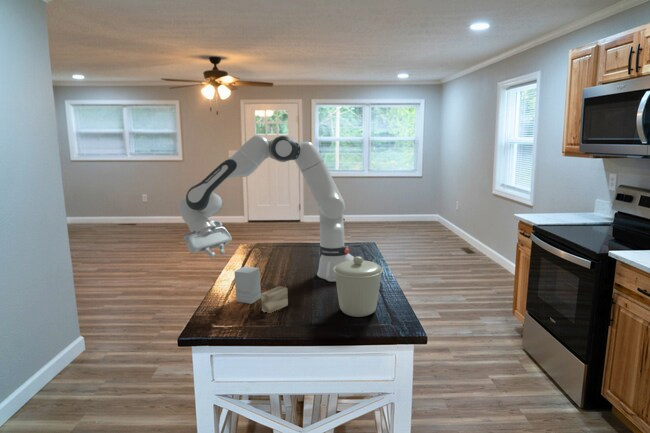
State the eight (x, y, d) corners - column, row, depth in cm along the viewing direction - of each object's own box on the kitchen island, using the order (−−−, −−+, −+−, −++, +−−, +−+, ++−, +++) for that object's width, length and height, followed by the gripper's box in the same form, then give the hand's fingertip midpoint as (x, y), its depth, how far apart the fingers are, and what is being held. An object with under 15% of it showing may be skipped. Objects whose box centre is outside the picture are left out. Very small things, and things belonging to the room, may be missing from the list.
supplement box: (261, 297, 172) (260, 267, 170) (251, 304, 166) (249, 273, 163) (246, 295, 176) (245, 265, 173) (235, 301, 169) (233, 271, 166)
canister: (365, 298, 170) (365, 247, 166) (392, 315, 154) (393, 259, 150) (325, 307, 162) (324, 254, 158) (349, 326, 146) (349, 267, 142)
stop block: (261, 311, 159) (261, 293, 158) (280, 302, 167) (279, 285, 166) (269, 313, 157) (268, 296, 156) (287, 305, 165) (287, 287, 163)
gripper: (184, 229, 172) (200, 257, 168) (224, 221, 188) (240, 245, 184) (178, 239, 176) (194, 265, 172) (218, 229, 192) (233, 254, 188)
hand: (218, 255), depth 178 cm, fingers open, 4 cm apart
